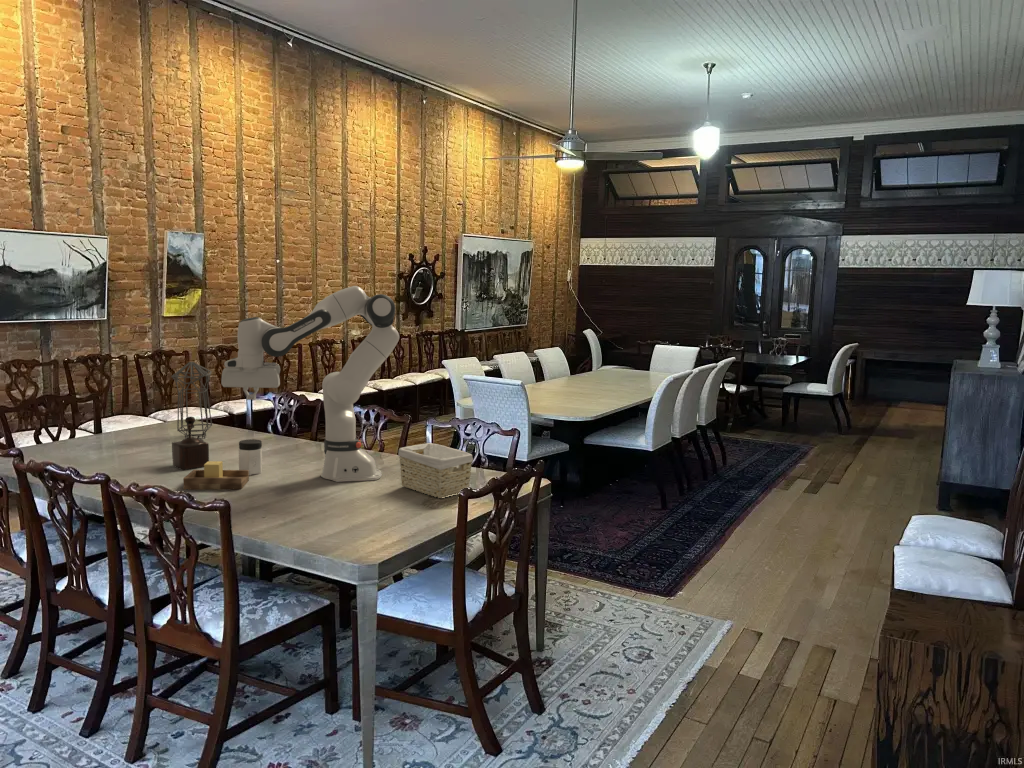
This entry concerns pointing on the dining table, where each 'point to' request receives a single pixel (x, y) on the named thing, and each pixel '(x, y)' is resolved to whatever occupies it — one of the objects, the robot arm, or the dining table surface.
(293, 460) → the dining table surface
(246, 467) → the jar
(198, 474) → the wooden tray
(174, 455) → the dark brown knobbed box
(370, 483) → the dining table surface
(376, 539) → the dining table surface
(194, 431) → the geometric lantern
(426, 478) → the storage basket
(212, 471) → the block
